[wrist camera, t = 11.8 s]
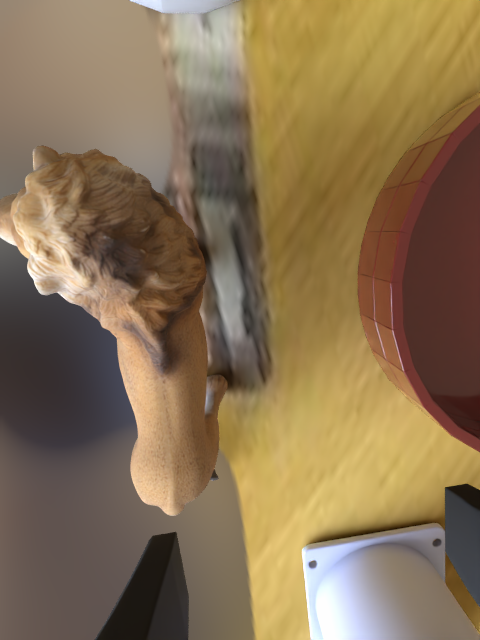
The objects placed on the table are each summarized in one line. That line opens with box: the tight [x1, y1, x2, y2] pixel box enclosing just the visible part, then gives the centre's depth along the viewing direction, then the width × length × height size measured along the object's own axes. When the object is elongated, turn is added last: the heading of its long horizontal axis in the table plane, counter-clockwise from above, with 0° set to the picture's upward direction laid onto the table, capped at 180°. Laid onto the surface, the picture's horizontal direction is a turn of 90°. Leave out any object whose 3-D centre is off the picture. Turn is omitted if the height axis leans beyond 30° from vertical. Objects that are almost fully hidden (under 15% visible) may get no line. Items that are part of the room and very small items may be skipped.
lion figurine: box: [0, 146, 227, 516], centre depth 14 cm, size 15×5×9 cm, turn 16°
